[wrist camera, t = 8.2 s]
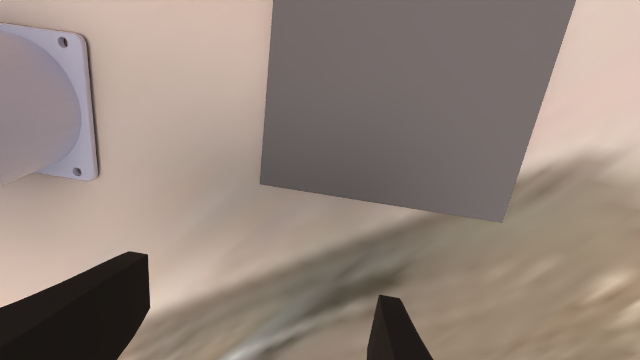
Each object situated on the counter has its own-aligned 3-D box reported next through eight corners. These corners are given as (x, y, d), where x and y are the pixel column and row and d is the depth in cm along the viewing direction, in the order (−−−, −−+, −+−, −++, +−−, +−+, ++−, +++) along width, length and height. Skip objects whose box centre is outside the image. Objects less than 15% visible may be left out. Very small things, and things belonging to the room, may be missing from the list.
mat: (262, 180, 22) (259, 184, 22) (282, -95, 17) (280, -98, 17) (499, 218, 21) (502, 222, 21) (589, -59, 17) (596, -61, 16)
